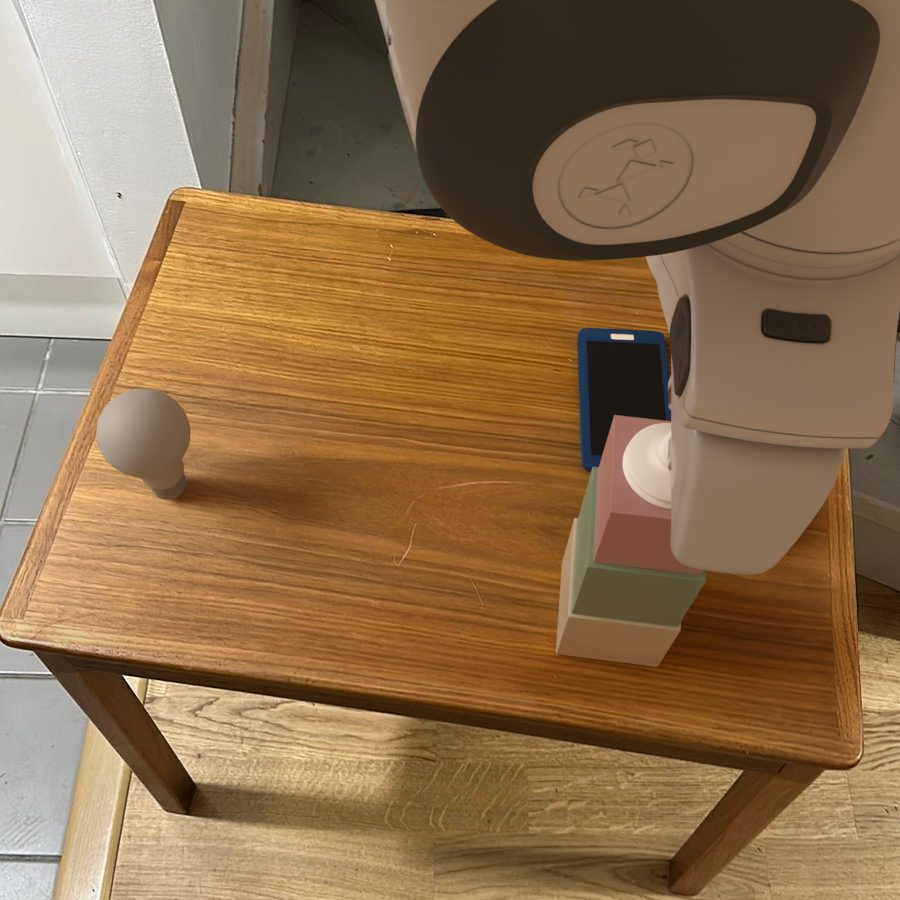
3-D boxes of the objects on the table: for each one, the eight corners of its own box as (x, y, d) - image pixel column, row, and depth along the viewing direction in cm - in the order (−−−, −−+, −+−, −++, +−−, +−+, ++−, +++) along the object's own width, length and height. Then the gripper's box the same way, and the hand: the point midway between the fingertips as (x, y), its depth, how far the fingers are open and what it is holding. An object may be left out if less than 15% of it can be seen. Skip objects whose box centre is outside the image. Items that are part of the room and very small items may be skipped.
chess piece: (651, 413, 50) (697, 287, 41) (733, 459, 48) (798, 339, 40) (604, 476, 48) (642, 358, 39) (689, 527, 46) (748, 415, 38)
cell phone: (663, 335, 78) (665, 330, 77) (677, 477, 71) (679, 472, 70) (576, 331, 78) (577, 325, 78) (581, 473, 71) (582, 468, 70)
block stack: (555, 654, 63) (600, 519, 46) (561, 562, 67) (605, 405, 50) (657, 667, 63) (740, 536, 46) (658, 574, 67) (735, 420, 50)
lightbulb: (122, 471, 70) (75, 387, 61) (201, 445, 72) (166, 359, 62) (141, 537, 68) (94, 459, 58) (222, 509, 69) (189, 428, 60)
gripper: (684, 37, 39) (625, 266, 51) (688, 445, 28) (612, 615, 40) (836, 51, 39) (741, 278, 50) (899, 470, 28) (760, 634, 40)
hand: (684, 430), depth 45 cm, fingers closed on chess piece, 2 cm apart
